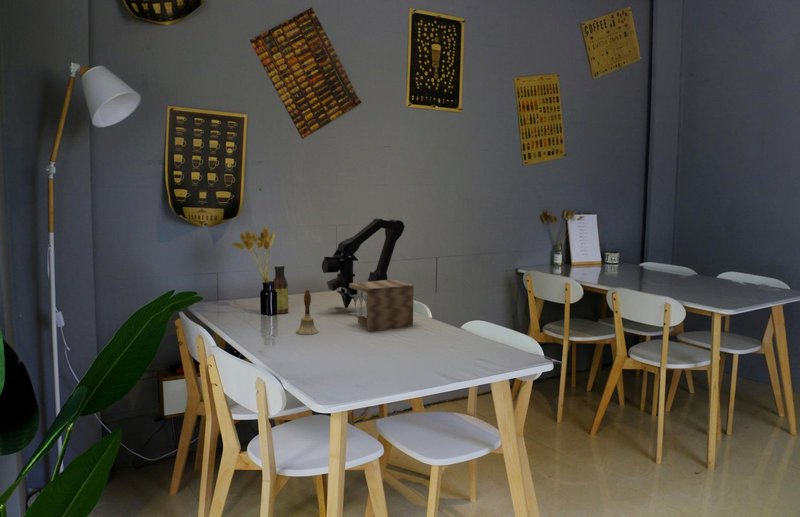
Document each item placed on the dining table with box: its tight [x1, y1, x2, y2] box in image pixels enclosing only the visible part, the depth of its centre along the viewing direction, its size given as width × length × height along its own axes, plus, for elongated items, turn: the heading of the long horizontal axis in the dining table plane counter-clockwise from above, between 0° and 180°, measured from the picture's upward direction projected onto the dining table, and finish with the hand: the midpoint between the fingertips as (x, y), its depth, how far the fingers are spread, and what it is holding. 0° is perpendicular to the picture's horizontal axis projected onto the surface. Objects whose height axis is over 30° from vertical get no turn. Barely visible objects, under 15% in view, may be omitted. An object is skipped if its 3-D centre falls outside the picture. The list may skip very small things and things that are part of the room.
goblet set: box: [349, 290, 367, 318], centre depth 270 cm, size 28×6×13 cm, turn 28°
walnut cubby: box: [349, 279, 415, 333], centre depth 261 cm, size 20×15×16 cm
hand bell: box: [295, 289, 319, 336], centre depth 248 cm, size 8×8×16 cm
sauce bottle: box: [272, 264, 289, 315], centre depth 280 cm, size 6×6×20 cm
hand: (346, 307), depth 285 cm, fingers closed, pressing on goblet set
